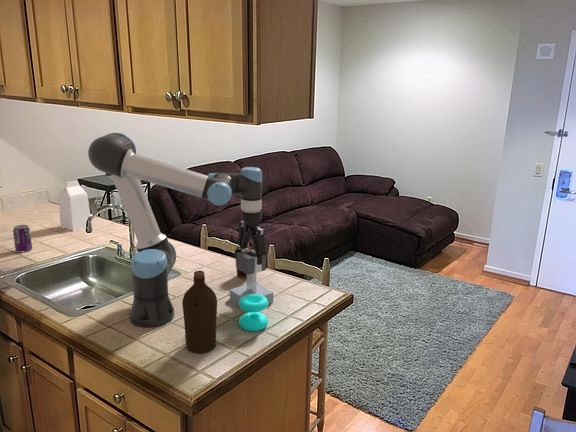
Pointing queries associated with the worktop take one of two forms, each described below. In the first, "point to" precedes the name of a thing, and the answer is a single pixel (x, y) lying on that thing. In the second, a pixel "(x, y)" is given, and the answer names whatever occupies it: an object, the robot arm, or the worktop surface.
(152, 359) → the worktop surface
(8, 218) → the worktop surface
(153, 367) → the worktop surface
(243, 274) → the coffee cup
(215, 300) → the olive oil
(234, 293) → the base
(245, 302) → the donuts
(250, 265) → the grey block
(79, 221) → the milk
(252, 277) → the post
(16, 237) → the beverage can
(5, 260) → the worktop surface
